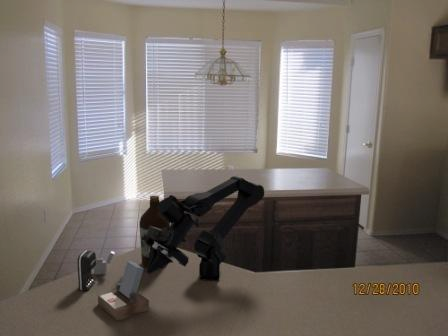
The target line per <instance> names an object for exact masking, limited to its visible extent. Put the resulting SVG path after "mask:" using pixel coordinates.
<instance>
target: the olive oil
mask: <svg viewBox="0 0 448 336" xmlns="http://www.w3.org/2000/svg"><path fill="white" fill-rule="evenodd" d="M159 202H160V196H159V195H150V196H149V207H148V208H147V209H146V210H145V212H144V213H142V215H141V217H140V220H139V224H138V225H139V237H140V249H141V250H140V252H141V265H142V266H143V267H144V268H146V269H147V267H148V264H149V261H150V258H151V248H150V246H149V245H147V244H146V243H145V242H144V241H143V240H141V239H142V237H143V236H144V235H145V234H147V232H148V229H149V227H150V226H152V227H156V228H159V229H163V228H165V227H166V226H167V227H170V225H171V223H170V222H168V221H167V220H166V219H165V218H164V217H163V216H162V215H161V214H159V213H158V212H157V205H158V204H159ZM166 266H168V264H166V265H164V266H162V267H161V268H160V269H162V268H164V267H166Z"/></svg>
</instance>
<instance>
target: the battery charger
mask: <svg viewBox="0 0 448 336" xmlns="http://www.w3.org/2000/svg"><path fill="white" fill-rule="evenodd" d="M96 254H97V253H96V252H95V251H93V250H87V249H86V250H84V251H82V252H81V253H80V254H79V255H78V257H77V259H76V260H77V262H76V263H77V277H78V278H77V279H78V280H77V281H78V290H79V291H88V290H90V289H91V288H92V286H94V284H95V282H96V281H95V279H94V277H93V274H92V270H94V267H95V266H96V259H97V257H96V256H97V255H96Z"/></svg>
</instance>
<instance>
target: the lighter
mask: <svg viewBox="0 0 448 336" xmlns="http://www.w3.org/2000/svg"><path fill="white" fill-rule="evenodd" d="M115 254H116V251H113V250H111V251H110V253H109V255H108V257H107V259H106V260H104V258H103V257H99V258H96V266H95V267H94V268H93V275H107V273H108V265H110V264H111V262H112V260H113V257H114V255H115Z"/></svg>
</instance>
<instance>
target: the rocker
mask: <svg viewBox="0 0 448 336" xmlns="http://www.w3.org/2000/svg"><path fill="white" fill-rule="evenodd" d="M143 272H144V268H143V267H142V266H141V265H139V264H137V263H135V261H127V262H126V265H125V270H124V271H123V275H122V279H121V282H120V283H121V285H120V289H119V291H120V292H121V293H122V294H124V295H125V296H126V297H128V298H129V294H132V293H137V292H138V289H139V285H140V282H141V279H142V276H143Z"/></svg>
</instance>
